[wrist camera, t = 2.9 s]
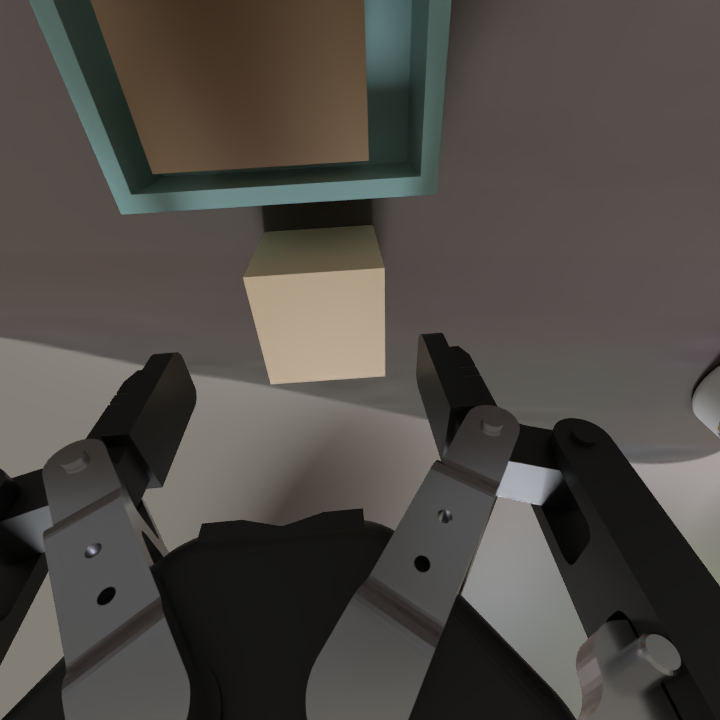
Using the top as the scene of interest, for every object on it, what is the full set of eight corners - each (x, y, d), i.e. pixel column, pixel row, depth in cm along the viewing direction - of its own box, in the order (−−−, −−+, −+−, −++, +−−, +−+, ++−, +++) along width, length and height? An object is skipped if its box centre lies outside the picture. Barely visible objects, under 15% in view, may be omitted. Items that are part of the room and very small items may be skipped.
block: (349, -104, 10) (358, -219, 6) (359, 138, 14) (368, 160, 10) (139, -93, 10) (18, -203, 6) (204, 148, 14) (152, 174, 10)
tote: (435, -184, 10) (473, -287, 7) (418, 174, 16) (436, 194, 13) (33, -165, 10) (-84, -262, 7) (160, 190, 15) (121, 214, 13)
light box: (372, 224, 17) (384, 267, 13) (375, 317, 20) (385, 376, 16) (264, 231, 17) (242, 277, 13) (283, 323, 20) (270, 384, 16)
